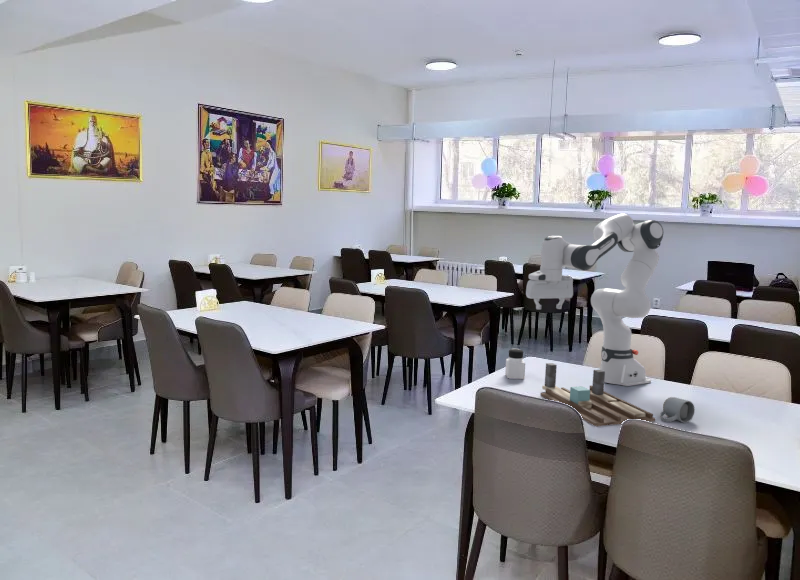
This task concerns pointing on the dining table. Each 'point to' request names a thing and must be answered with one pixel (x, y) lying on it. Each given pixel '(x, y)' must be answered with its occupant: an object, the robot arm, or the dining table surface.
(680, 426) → the dining table surface
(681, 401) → the ceramic mug
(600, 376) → the left strip stub
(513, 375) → the medicine bottle
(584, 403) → the right strip
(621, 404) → the left strip far piece
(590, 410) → the lane board
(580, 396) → the teal cube
